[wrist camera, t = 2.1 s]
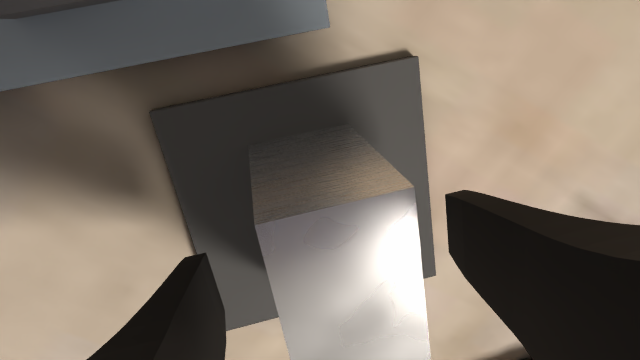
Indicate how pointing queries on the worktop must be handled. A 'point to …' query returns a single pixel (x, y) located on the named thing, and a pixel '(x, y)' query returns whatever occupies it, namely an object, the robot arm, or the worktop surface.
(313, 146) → the metal billet
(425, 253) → the mat
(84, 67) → the pallet
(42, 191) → the worktop surface
